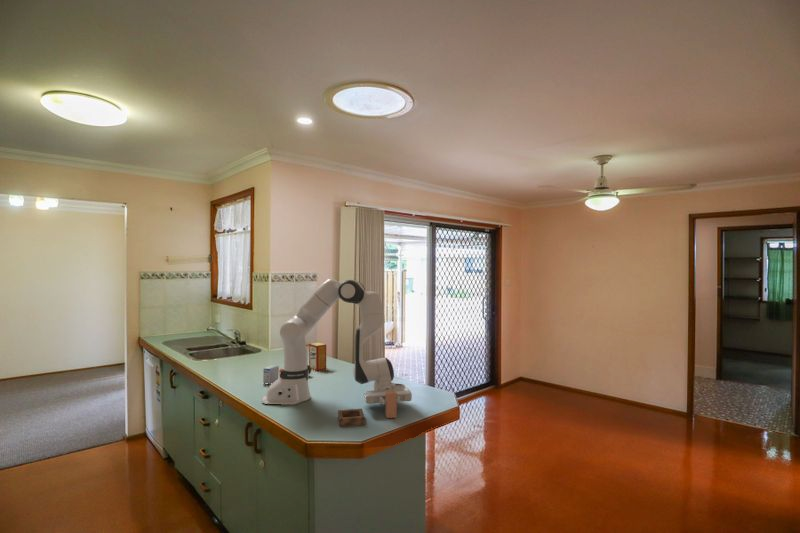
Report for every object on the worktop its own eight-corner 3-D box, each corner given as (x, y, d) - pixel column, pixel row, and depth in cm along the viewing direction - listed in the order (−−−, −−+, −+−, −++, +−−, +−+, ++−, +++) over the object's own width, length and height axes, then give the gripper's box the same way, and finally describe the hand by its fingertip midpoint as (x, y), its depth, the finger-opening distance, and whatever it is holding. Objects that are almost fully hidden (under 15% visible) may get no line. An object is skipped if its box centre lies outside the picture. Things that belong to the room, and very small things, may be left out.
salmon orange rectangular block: (387, 418, 160) (387, 394, 161) (385, 414, 164) (385, 391, 165) (396, 417, 161) (396, 393, 161) (394, 413, 165) (394, 390, 165)
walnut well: (339, 426, 153) (339, 419, 153) (338, 417, 162) (338, 410, 162) (364, 424, 155) (364, 417, 155) (361, 415, 164) (361, 408, 164)
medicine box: (271, 380, 218) (271, 365, 218) (278, 381, 216) (278, 365, 216) (263, 384, 210) (263, 368, 210) (270, 385, 209) (270, 368, 209)
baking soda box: (309, 368, 244) (309, 343, 244) (318, 366, 248) (318, 341, 249) (317, 371, 237) (317, 345, 237) (326, 369, 242) (326, 343, 242)
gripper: (363, 386, 174) (366, 396, 160) (407, 384, 178) (414, 393, 164) (363, 400, 173) (366, 411, 160) (407, 397, 178) (414, 408, 164)
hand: (391, 402), depth 162 cm, fingers closed on salmon orange rectangular block, 4 cm apart
